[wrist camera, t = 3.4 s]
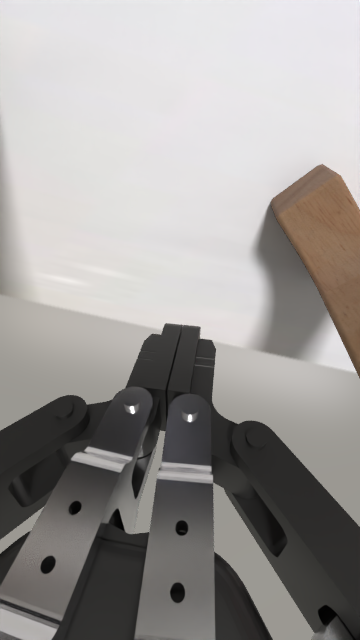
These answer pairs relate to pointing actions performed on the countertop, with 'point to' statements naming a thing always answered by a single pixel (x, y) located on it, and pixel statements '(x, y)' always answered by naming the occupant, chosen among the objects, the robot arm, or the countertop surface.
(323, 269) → the wooden block
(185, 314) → the countertop surface
